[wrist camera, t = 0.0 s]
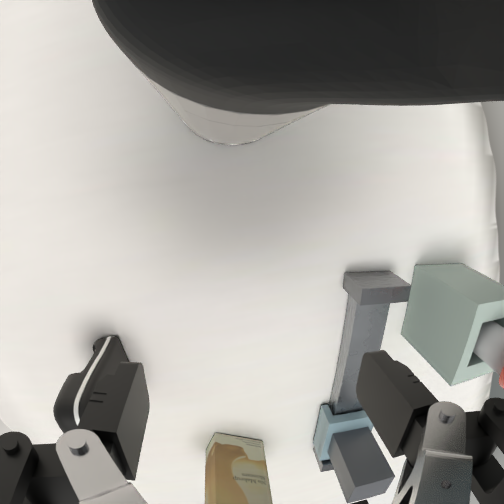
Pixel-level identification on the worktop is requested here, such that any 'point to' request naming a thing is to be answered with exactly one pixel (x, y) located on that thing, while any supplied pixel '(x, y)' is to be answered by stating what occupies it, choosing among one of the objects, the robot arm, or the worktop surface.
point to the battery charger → (87, 382)
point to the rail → (361, 334)
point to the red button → (491, 347)
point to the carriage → (352, 453)
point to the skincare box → (236, 471)
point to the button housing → (451, 317)
